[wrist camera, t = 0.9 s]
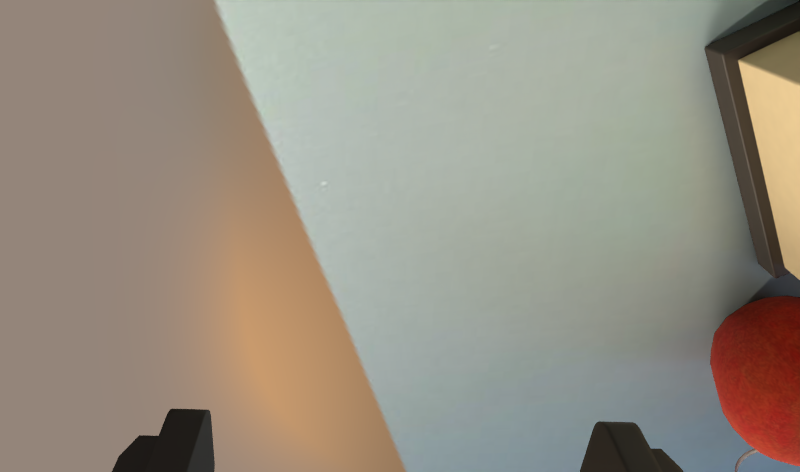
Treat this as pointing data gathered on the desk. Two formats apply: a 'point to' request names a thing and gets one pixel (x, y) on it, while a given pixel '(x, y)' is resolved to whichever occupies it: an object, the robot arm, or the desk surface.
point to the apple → (761, 375)
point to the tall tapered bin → (764, 130)
